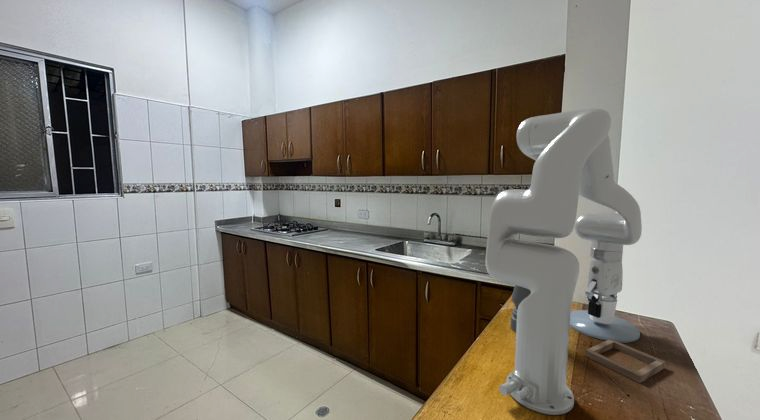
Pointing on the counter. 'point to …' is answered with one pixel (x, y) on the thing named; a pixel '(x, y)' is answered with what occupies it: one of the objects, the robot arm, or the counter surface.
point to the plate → (604, 328)
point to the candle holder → (517, 298)
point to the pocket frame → (637, 376)
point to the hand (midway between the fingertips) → (601, 312)
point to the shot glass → (606, 310)
